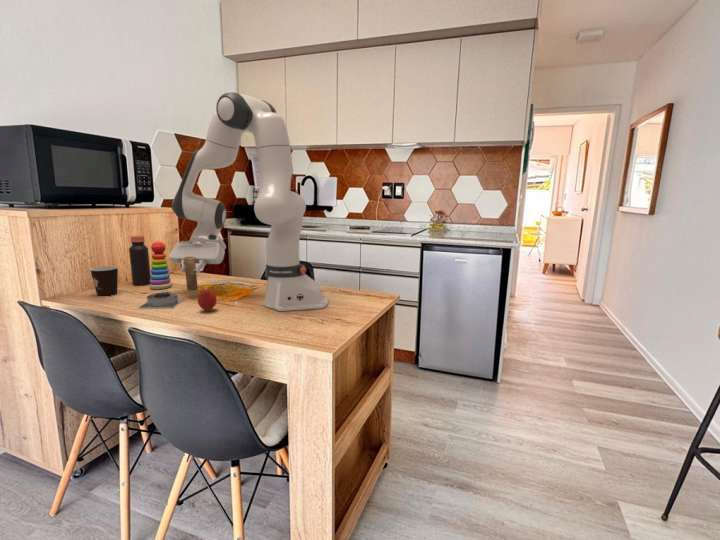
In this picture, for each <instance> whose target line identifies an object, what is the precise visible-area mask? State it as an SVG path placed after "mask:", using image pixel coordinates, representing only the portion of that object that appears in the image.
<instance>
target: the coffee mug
mask: <svg viewBox="0 0 720 540" xmlns="http://www.w3.org/2000/svg"><path fill="white" fill-rule="evenodd" d="M118 269H119V267H118V266H116V265H109V266H108V265H107V266H106V265H105V266H98V267H92V268H90V274H91V277H92V282H93V285H94V289H95V292H96V296H97V297H98V296H108V297H112V296H111V295H113V296H116V295H118V276H119V274H118V272H119V270H118ZM115 294H116V295H115Z"/></svg>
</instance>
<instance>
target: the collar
mask: <svg viewBox="0 0 720 540" xmlns="http://www.w3.org/2000/svg"><path fill="white" fill-rule="evenodd" d="M185 299H186V298H185V297H178V293H176V292H171V291H167V292H166V291H163V292H156V293H152V294H149V295H148V296H146V301H147V302H145V303H144V304H142V305H141V306H139V307H138V309H139V308H147V309H174V308H175V307H177V306H178V305H179V304H181V303H182V302H184V301H185ZM181 301H182V302H181ZM180 302H181V303H180ZM177 304H178V305H177ZM176 305H177V306H176Z"/></svg>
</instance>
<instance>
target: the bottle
mask: <svg viewBox="0 0 720 540" xmlns="http://www.w3.org/2000/svg"><path fill="white" fill-rule="evenodd" d="M130 244H131V246H130V247H129V248H128V253H129V254H128V255H129V263H130V270H131V271H130V272H131V279H132V285H133V286H135V287H136V286H137V287H140V286H142V287H143V286H147V285H150V284H151V283H150V279H151V277H150V275H151V265H150V258H149V257H150V255H149V248H148V247H147V246H146V245H145V236H144V235H131V236H130Z"/></svg>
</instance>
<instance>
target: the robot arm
mask: <svg viewBox="0 0 720 540" xmlns="http://www.w3.org/2000/svg"><path fill="white" fill-rule="evenodd" d="M215 108H216V110H215V111H214V113H213V115H212V117H211V120H210V122H209V125H208V128H207V129H208V130H207V131H206V132H207V133H206V138H205V142H204V144H203V146H202V147H201V148H200V149H197V150H195V151H194V152H193V153H192V155H191V157H190V159H189V161H188V163H187V166H186V169H185V171H184V174H183V176H182V179H181V182H180V183H179V187H178V189H177V191H176V193H175V196H174V198H173V200H172V203H171V210H172V211H173V213H174V215H175V216H177V218H180V219H185V220H189V221H190V220H191V221H195V222H197V225H196V227H195V228H194V229H193V232H192V234H191V236H190V239H189V240H186V241H185V240H181V241H180V242H177V243H176V244H175V245H174V246H173V248H172V249H171V252H170V253H169V255H168V257H169V259H170V260H171V262H172V263H174V264H181V268H180V272H182V273H185V264H184V258H185V257H195V264H196V265H195V267H194V269H193V271H194V272H195V273H196V274H199V273H200V271H201V270H202V269H203V268H204V267H205V266H206V264H207V265H219V264H221V263H222V262H223V260H224V258H225V253H226V251H225V250H226V248H227V246H226V243H225V242H224V240H223V239H222V238H221V236H219V233H220V232H221V231H222V227H224V224H225V222H226V219H227V215H228V213H227V208H226V206H225V205H224V203H223V202H222V201H220V200H217V199H213V198H210V197H206V196H202V195H199V194H196V193H194V192H193V189H194V187H195V185H196V181H197V179H198V177H199V173H200V172H202V171H204V170H211V169H212V170H215V169H216V170H217V169H223V168H226V167H227V168H228V167H229V166H231V165H232V164H234V163H235V161H236V159H237V157H238V153H239V149H240V146H241V145H240V144H241V139H242V136H243V134H244V133H246V132H247V133H252V135H253V137H254V142H255V150H256V151H255V152H256V156H257V157H256V158H257V164H258V166H257V167H258V173H259V174H258V175H259V181H258V182H259V184H258V194H257V197H256V200H255V202H254V206H253V211H254V213H255V216H256V218H257V220H259V221H260V222H261V223H263V224H266V225H270V226H271V227H270V232H269V235H268V237H267V239H266V241H265V242H266V245H265V247H266V249H265V250H266V264H265V279H266V288H265V289H266V290H265V295H264V296H265V297H264V301H263V306H264V307H266V308H269V309H274V310H276V311H278V312H288V311H302V310H304V311H305V310H316V309H317V310H318V309H324V308H326V307H327V306H328V304H329V300H328V297H327V296H326V295H323V293H322V289H321V286H320V283H318V282H317V281H316V280H314V279H313V278H311V277H310V276H309V275H308V274H306V272H307V268H306V266H305V264H302V263H300V238H301V237H300V236H301V231H302V226H303V218H304V215H305V213H306V208H307V204H306V200H305V199H304V197H302V195H300V194H299V193H296V192H295V191H292V190H291V183H292V177H293V173H294V165H293V158H292V151H291V144H290V143H291V141H290V137H289V133H288V130H287V126H286V123H285V120H284V118H283V117H282V116H281V115H280V114H278V113H277V110H276V109H275V107H274V106H273V105H272V104H270V103H269V102H268V101H266V100H262V99H259V98H257V97H254V96H251V95H248V94H243V93H239V92H225V93H223V94H222V95H220V96H219V98H218V100H217V102H216V107H215Z"/></svg>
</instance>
